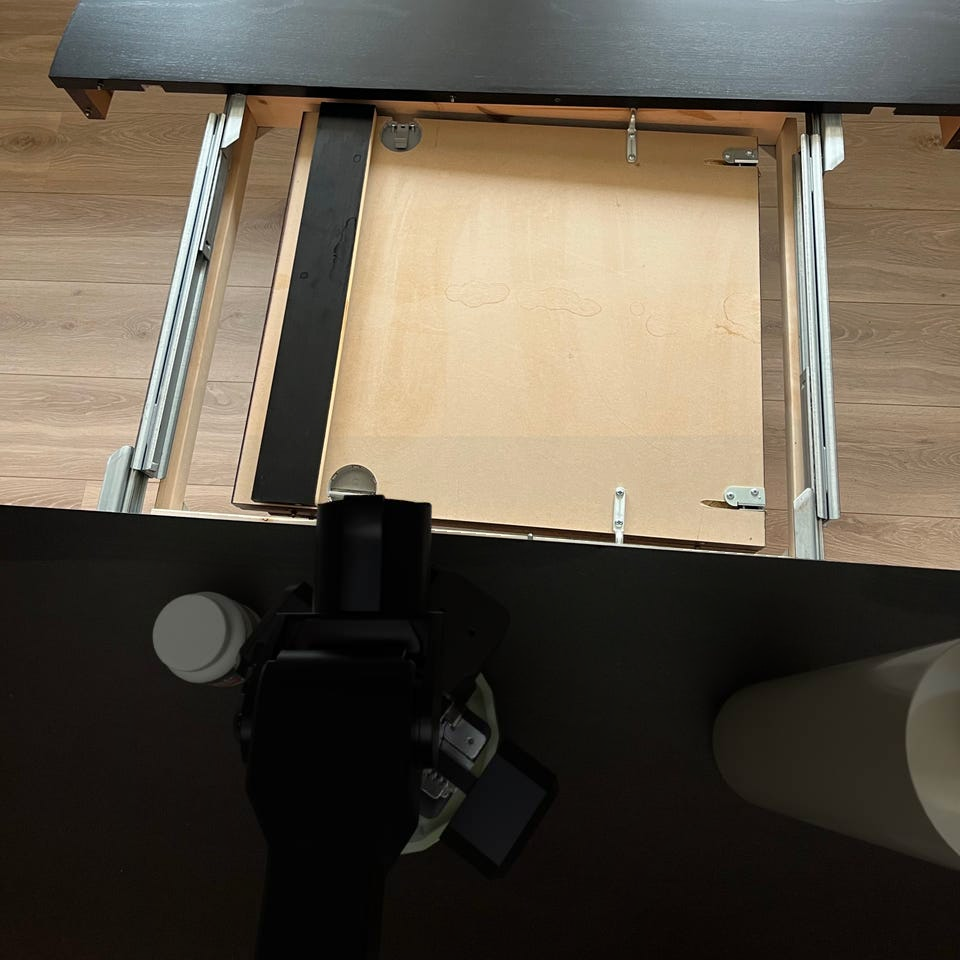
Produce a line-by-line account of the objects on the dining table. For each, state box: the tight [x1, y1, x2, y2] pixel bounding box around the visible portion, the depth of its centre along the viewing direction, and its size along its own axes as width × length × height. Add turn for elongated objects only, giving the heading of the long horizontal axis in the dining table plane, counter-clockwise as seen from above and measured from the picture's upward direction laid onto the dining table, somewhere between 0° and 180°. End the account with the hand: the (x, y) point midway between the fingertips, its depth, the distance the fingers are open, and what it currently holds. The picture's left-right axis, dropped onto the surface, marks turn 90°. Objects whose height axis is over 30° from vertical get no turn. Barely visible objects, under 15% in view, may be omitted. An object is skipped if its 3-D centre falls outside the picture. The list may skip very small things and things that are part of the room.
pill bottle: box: [152, 591, 262, 687], centre depth 71 cm, size 6×6×10 cm
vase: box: [711, 636, 960, 873], centre depth 50 cm, size 8×8×46 cm
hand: (410, 723), depth 67 cm, fingers closed on stick, 2 cm apart
